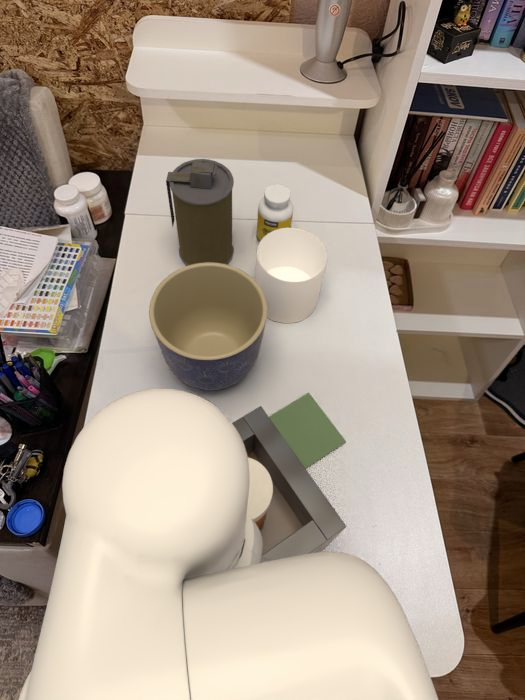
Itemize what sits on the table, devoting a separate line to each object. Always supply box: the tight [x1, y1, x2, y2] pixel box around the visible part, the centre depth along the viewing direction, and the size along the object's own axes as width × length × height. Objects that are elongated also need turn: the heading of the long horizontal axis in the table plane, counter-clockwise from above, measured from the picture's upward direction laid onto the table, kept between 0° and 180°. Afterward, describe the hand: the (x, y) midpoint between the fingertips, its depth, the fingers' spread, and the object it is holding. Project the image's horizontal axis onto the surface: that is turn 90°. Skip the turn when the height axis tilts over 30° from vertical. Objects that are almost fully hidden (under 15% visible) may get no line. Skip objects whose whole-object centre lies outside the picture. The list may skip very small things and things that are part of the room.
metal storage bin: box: [232, 405, 347, 561], centre depth 63 cm, size 16×16×22 cm
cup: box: [254, 227, 329, 324], centre depth 88 cm, size 12×12×12 cm
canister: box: [165, 158, 235, 267], centre depth 89 cm, size 11×10×20 cm
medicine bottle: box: [247, 458, 273, 531], centre depth 53 cm, size 6×6×12 cm
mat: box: [268, 392, 347, 470], centre depth 80 cm, size 10×10×1 cm
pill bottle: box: [256, 183, 294, 243], centre depth 96 cm, size 6×6×12 cm
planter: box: [148, 262, 268, 391], centre depth 80 cm, size 17×17×15 cm
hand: (198, 567), depth 45 cm, fingers open, 9 cm apart
